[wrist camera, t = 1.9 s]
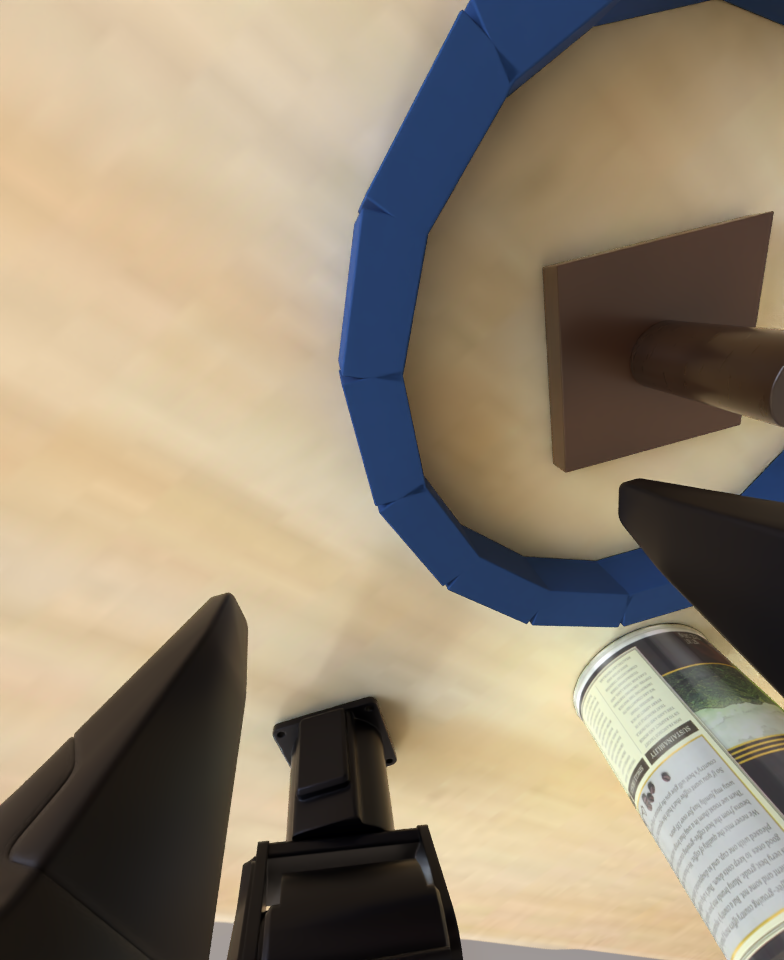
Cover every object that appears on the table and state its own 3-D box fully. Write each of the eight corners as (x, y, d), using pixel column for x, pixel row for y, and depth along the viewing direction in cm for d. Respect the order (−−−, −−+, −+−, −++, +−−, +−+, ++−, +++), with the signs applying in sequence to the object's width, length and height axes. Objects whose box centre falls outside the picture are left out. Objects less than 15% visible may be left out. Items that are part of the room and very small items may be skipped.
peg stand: (719, 418, 21) (904, 477, 15) (552, 463, 21) (663, 546, 14) (746, 215, 17) (1016, 167, 11) (542, 267, 17) (687, 251, 10)
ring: (837, 519, 26) (899, 546, 23) (413, 641, 24) (424, 685, 22) (1042, -164, 14) (1217, -274, 11) (239, 9, 13) (216, -68, 10)
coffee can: (697, 596, 27) (1040, 875, 14) (717, 686, 31) (992, 961, 18) (551, 669, 27) (752, 997, 15) (592, 747, 32) (772, 1051, 19)
